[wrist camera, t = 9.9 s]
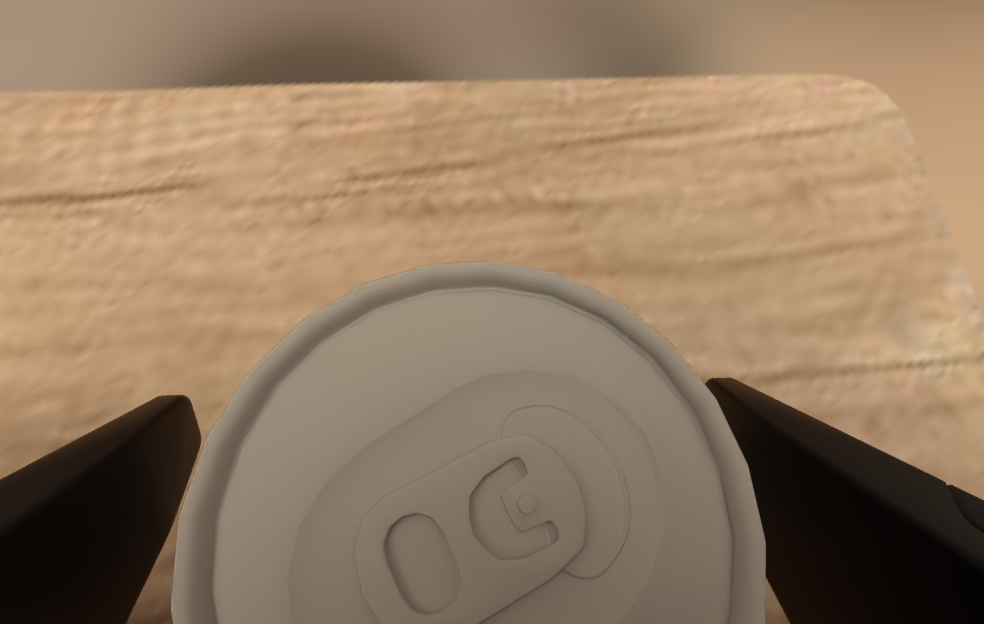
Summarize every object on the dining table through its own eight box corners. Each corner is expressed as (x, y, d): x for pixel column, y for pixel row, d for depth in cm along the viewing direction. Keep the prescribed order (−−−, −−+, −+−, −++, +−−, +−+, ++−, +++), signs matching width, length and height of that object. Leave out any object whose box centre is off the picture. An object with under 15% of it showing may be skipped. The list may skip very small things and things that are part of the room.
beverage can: (569, 529, 15) (913, 676, 4) (420, 617, 14) (294, 1163, 3) (494, 385, 16) (588, 171, 5) (352, 456, 15) (70, 392, 4)
